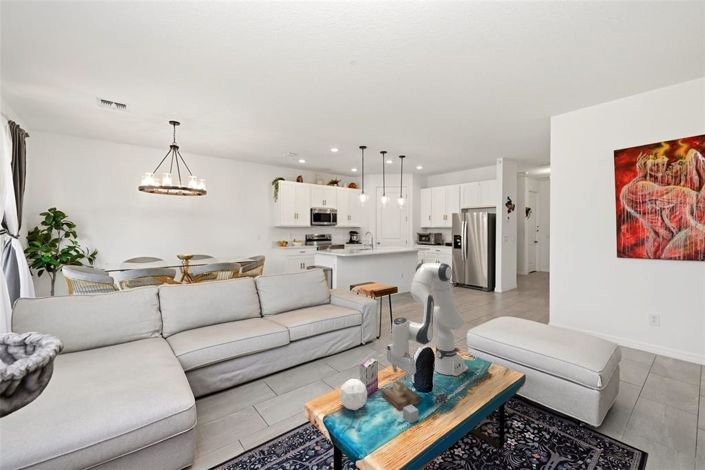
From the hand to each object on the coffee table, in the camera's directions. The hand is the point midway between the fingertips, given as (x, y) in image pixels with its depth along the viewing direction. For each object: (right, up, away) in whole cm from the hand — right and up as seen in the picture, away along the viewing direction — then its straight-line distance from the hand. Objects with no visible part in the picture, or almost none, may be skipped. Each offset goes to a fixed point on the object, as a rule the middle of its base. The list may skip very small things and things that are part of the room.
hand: (401, 375), depth 157 cm
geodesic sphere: (-25, -13, -8) cm, 29 cm away
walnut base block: (0, -13, 0) cm, 13 cm away
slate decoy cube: (+2, -13, -16) cm, 21 cm away
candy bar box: (-16, -13, +8) cm, 22 cm away
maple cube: (-1, -9, 0) cm, 9 cm away
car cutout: (+25, -13, -2) cm, 28 cm away
